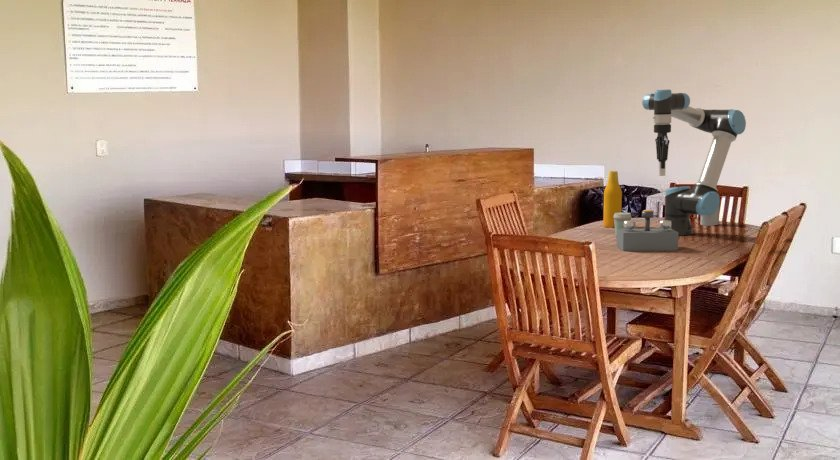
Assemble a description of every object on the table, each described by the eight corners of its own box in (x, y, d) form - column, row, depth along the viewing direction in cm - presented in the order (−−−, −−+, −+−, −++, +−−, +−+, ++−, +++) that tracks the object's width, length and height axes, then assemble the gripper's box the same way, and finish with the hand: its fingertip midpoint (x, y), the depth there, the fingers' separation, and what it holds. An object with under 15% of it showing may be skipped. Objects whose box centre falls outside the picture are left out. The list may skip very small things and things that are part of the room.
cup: (720, 225, 454) (721, 203, 453) (703, 226, 454) (704, 203, 453) (715, 223, 463) (716, 201, 462) (698, 223, 463) (698, 201, 462)
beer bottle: (599, 226, 458) (600, 171, 454) (614, 224, 462) (615, 170, 458) (610, 228, 450) (611, 172, 446) (624, 227, 453) (626, 171, 449)
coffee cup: (631, 239, 412) (632, 214, 410) (613, 239, 414) (613, 214, 412) (630, 236, 420) (631, 212, 419) (612, 236, 422) (613, 212, 420)
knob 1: (633, 245, 390) (633, 220, 388) (635, 247, 385) (636, 222, 383) (622, 246, 390) (622, 220, 388) (624, 247, 385) (625, 222, 383)
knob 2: (668, 245, 390) (669, 220, 388) (672, 247, 385) (672, 221, 383) (657, 245, 390) (658, 220, 388) (660, 247, 385) (661, 221, 383)
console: (669, 245, 393) (670, 228, 392) (677, 250, 382) (678, 232, 380) (616, 246, 393) (617, 228, 392) (623, 250, 381) (623, 232, 380)
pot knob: (651, 235, 389) (652, 209, 387) (654, 236, 384) (655, 211, 383) (640, 235, 389) (640, 209, 387) (643, 237, 384) (643, 211, 383)
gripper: (649, 123, 401) (649, 174, 405) (658, 124, 389) (658, 177, 392) (665, 123, 402) (665, 174, 406) (675, 124, 389) (674, 176, 393)
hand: (661, 175), depth 399 cm, fingers closed
